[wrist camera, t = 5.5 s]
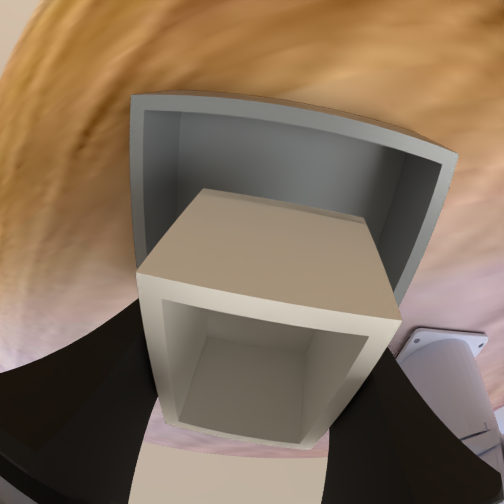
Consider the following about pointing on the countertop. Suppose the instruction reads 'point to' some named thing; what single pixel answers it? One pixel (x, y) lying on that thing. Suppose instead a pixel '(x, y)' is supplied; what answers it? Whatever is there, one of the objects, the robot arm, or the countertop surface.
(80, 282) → the countertop surface
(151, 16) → the countertop surface
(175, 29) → the countertop surface
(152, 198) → the grey shallow square box
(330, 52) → the countertop surface
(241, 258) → the white crate
